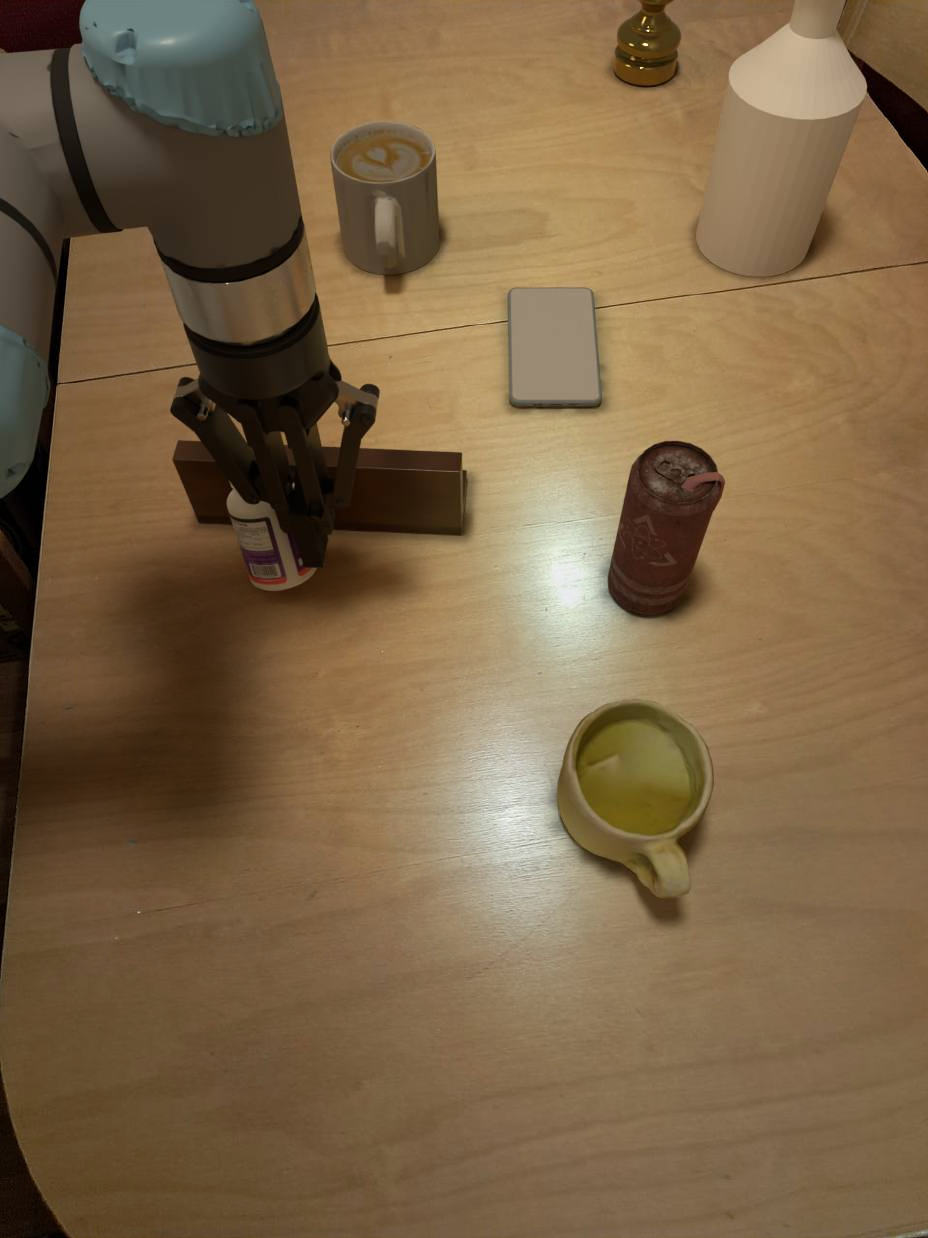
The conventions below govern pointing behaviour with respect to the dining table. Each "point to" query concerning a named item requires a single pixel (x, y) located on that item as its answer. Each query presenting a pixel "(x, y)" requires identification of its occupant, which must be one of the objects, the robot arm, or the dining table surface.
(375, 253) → the coffee mug
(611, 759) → the mug
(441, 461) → the brown long rectangular block
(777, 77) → the bottle
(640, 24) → the salt shaker
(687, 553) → the can
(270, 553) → the pill bottle
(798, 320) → the dining table surface
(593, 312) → the smartphone
